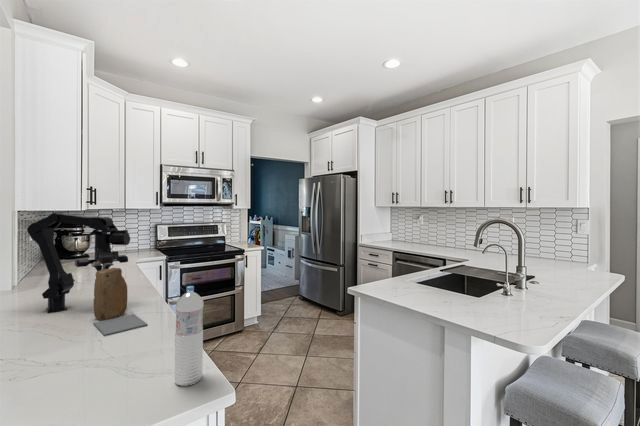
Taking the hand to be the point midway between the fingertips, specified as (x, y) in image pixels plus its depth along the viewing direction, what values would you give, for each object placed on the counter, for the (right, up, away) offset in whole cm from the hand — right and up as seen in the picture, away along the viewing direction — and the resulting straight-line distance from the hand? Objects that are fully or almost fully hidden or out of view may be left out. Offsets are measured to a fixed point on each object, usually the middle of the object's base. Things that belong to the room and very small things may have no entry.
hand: (102, 279), depth 135 cm
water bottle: (+62, -15, -54) cm, 84 cm away
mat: (+20, -14, -18) cm, 30 cm away
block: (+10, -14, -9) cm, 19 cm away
